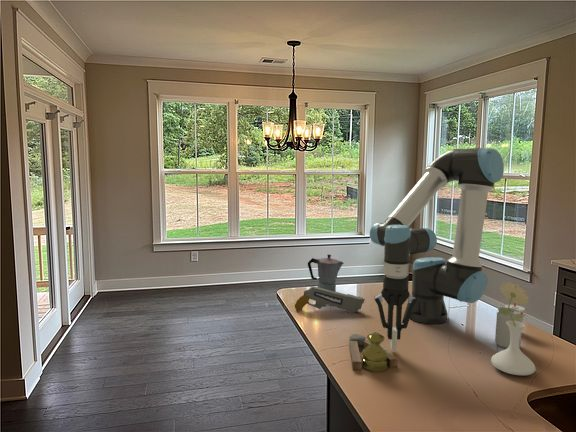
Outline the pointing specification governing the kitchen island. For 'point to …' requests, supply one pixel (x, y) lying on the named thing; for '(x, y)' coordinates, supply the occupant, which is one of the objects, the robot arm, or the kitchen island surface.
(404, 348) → the kitchen island surface
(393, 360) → the long rectangular block
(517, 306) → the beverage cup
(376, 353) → the yellow-green tapered rounded piece
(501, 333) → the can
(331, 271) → the moka pot
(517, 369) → the flower in vase
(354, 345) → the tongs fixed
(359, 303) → the gun
